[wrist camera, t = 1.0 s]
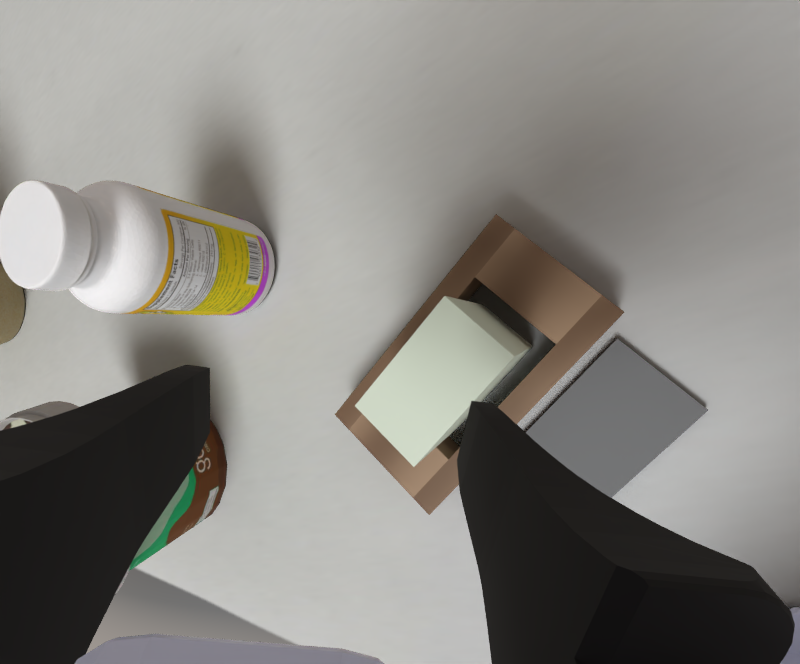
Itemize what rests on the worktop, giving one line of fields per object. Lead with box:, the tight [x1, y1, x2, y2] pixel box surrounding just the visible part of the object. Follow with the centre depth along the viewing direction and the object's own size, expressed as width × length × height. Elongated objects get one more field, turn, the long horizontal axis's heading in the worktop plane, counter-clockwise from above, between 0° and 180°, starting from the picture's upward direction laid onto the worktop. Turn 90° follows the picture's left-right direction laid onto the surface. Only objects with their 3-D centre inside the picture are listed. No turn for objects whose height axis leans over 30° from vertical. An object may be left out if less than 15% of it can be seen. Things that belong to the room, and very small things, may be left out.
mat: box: [525, 339, 708, 498], centre depth 22 cm, size 5×12×1 cm, turn 139°
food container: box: [0, 401, 227, 594], centre depth 28 cm, size 12×6×10 cm, turn 46°
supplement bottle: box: [0, 180, 275, 315], centre depth 25 cm, size 7×7×13 cm
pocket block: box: [335, 214, 624, 515], centre depth 23 cm, size 8×14×2 cm, turn 139°
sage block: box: [355, 296, 533, 467], centre depth 21 cm, size 4×6×8 cm, turn 139°
